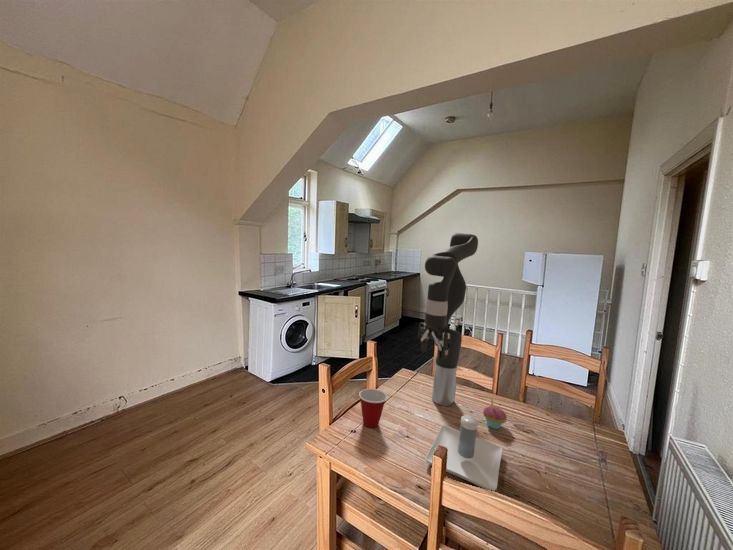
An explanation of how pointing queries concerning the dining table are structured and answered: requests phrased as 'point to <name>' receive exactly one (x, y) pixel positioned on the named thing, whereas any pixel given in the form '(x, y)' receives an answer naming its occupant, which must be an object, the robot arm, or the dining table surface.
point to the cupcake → (494, 416)
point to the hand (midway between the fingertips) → (431, 355)
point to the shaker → (467, 436)
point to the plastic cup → (372, 406)
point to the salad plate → (470, 459)
